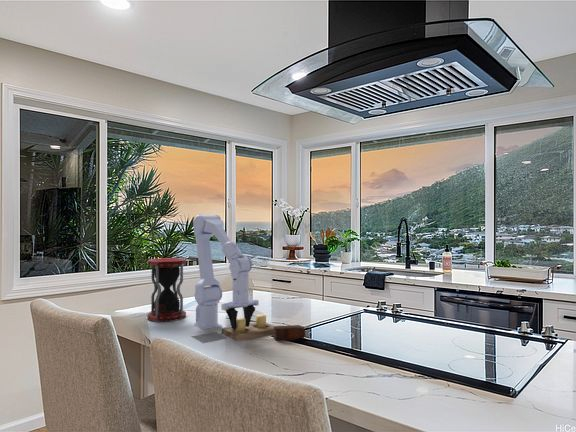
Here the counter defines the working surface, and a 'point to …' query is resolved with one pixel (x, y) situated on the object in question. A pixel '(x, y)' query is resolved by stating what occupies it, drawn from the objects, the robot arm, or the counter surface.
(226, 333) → the socket board
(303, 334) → the brick
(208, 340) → the mat
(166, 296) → the hourglass
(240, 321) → the yellow peg
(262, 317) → the tan domed cylinder
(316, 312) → the counter surface
